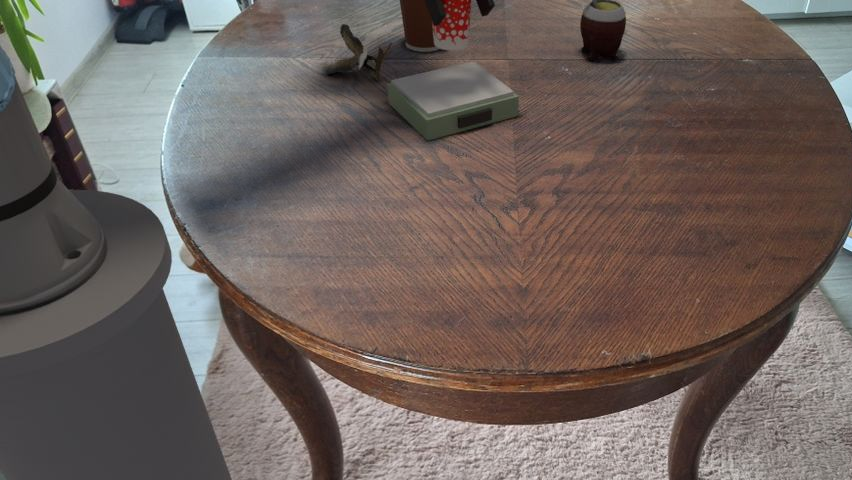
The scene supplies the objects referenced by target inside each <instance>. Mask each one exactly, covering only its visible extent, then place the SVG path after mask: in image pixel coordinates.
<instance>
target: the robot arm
mask: <svg viewBox="0 0 852 480" xmlns="http://www.w3.org/2000/svg"><path fill="white" fill-rule="evenodd" d="M424 1H425V3H426V6H427V9H428V11H429V14H430V17H431V19H432V22H433V25H434V26H438V25H440V24H441V22H442V21H443V19H444V18H445V17H446V12H445V10H444V7H443V4H442V2H441V0H424ZM475 2H476V4H477V7H478V10H479V12H480V15H481V17H487V16H488V15H490V13H491V11H492V10H493V9H494V7H495V6H496V4H495V1H494V0H475ZM15 74H16V70H15V68H14V65H13V63H12V61H11V58H10V57H9V56H8V54H7V52H6V50H4V49H3V46H1V44H0V316H3V315H10V314H15V313H20V312H24V311H28V310H31V309H34V308H37V307H40V306H43V305H46V304H48V303H51V302H53V301H55V300H57V299H59V298H61V297H63V296H65V295H67V294H69V293H70V292H72V291H74V290H75V289H77V288H78V287H80V286H81V285H82V284H84V283H85V282H86V281H87V280H88V279H90V278H91V277H92V276H93V275H94V274H95V273H96V271H97V270H98V269H99V268H100V266H101V265H102V263H103V261H104V259H105V257H106V254H107V241H106V238H105V236H104V233H103V231H102V229H101V226H100V225H99V223H98V222H97V220H96V219H95V217H94V216H93V215H92V214H91V213H90V212H89V211H88V210H87V209H86V208H85V207H84V206H83V205H82V203H81V202H80V201H79V200H78V199H77V198H76V195H75V193H74V190H75V189H73V188H71V189H68V188H67V186H66V185H64V183H63V182H62V181H61V180H60V178H59V176H58V175H57V173H56V171H55V168H54V165H53V163H52V161H51V160H52V159H51V158H50V155H49V153H48V151H47V148H46V145H45V144H44V142H43V139H42V136H41V134H40V132H39V130H38V128H37V125H36V123H35V120H34V117H33V116H32V112H31V111H30V108H29V106H28V103H27V101H26V98H25V97H24V95H23V92H22V90H21V87H20V85H19V82H18V80H17V77H16V75H15Z"/></svg>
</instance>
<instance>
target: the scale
mask: <svg viewBox="0 0 852 480" xmlns="http://www.w3.org/2000/svg"><path fill="white" fill-rule="evenodd" d="M386 86H387V87H386V88H387V101H388V105H390V106H391V107H392V108H393V109H394V110H395V111H396V112H397V113H398V114H399V115H400V116H401V117H402V118H403V119H405V121H407V122H408V124H410V126H412V127H413V128H414V129H415V130H416V132H418V133H419V134H420V135H421V136H422V138H424V139H425V140H426V141H433V140H436V139H439V138H443V137H447V136H451V135H454V134H458V133H462V132H465V131H468V130H469V131H470V130H473V129H476V128H480V127H483V126H487V125H490V124H494V123H498V122H501V121H505V120H509V119H512V118H516V117H519V102H520V101H519V98H520V96H519V95H518V94H517V93H516V92H515V91H514V90H513V89H511V88H510V87H508V85H506V84H504V83H503V82H502V81H500V80H499V79H498V78H496V77H495V76H494V75H493V74H492V73H490V72H488V70H486V69H484V67H482V66H481V65H479V64H478V63H476V62H475V61H474V60H473V61H469V62H464V63H460V64H455V65H450V66H447V67H442V68H438V69H434V70H430V71H426V72H422V73H416V74H412V75H408V76H404V77H399V78H395V79H391V82H388V83H386Z"/></svg>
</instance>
